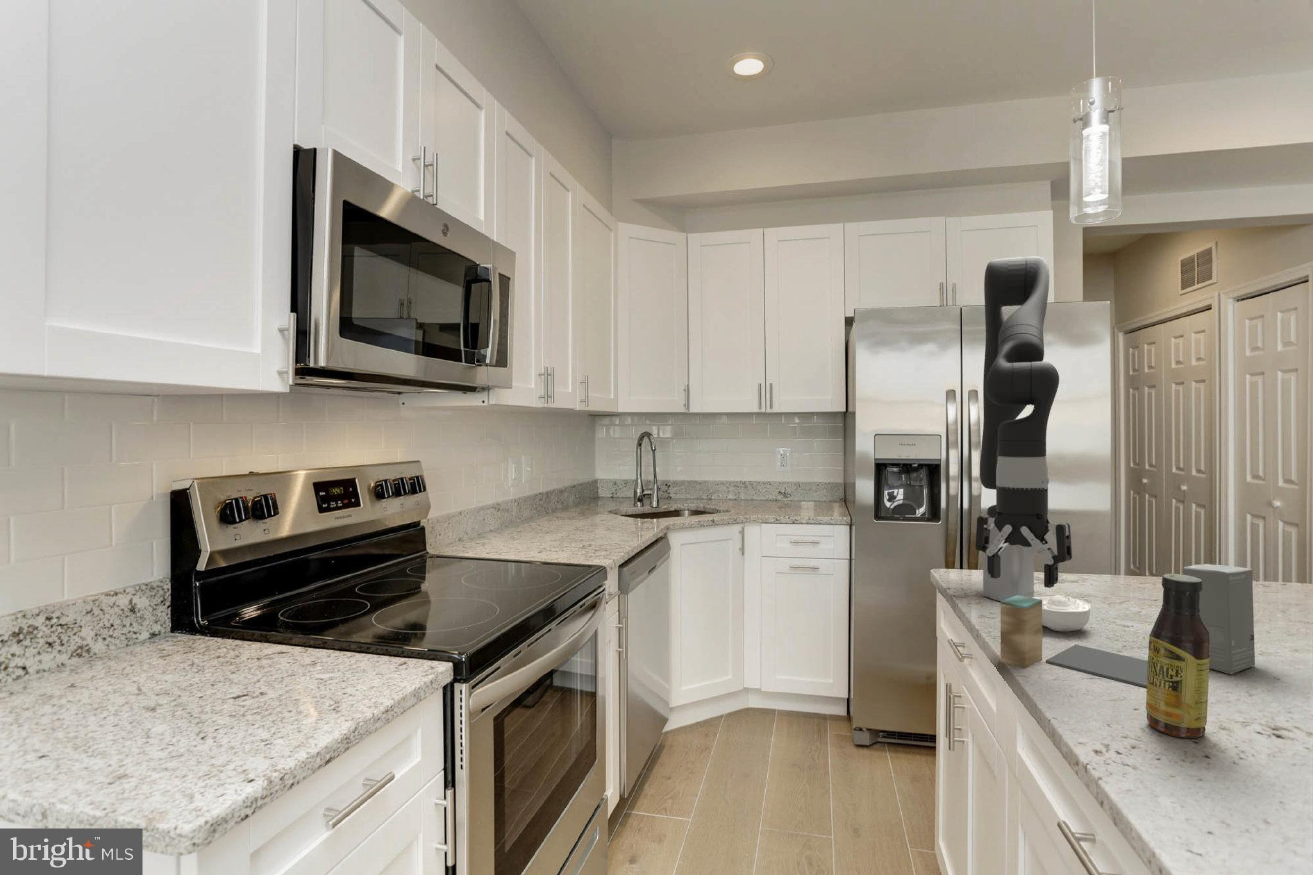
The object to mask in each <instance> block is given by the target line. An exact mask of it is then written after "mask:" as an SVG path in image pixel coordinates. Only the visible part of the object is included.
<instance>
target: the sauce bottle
mask: <svg viewBox="0 0 1313 875" xmlns="http://www.w3.org/2000/svg"><path fill="white" fill-rule="evenodd" d="M1161 579H1162V580H1161V587H1162V589H1163V592H1162V604H1161V608H1160V611H1159V612H1158V615H1157V617H1156V619H1155V621H1154V624H1153V626H1152V628H1151V631H1150V633H1149V636H1148V637H1149V638H1148V652H1147V653H1148V654H1147V655H1148V656H1147V661H1148V670H1147V671H1148V672H1147V688H1146V702H1145V710H1146V720H1147V722H1148V724H1149V725H1150V726H1151V728H1154V729H1155V730H1157V731H1159V732H1161V733H1164V734H1167V735H1169V736H1172V737H1175V738H1186V739H1188V738H1189V739H1195V738H1196V739H1197V738H1201V737H1202V736H1204V735H1205V733H1206V726H1207V722H1208V704H1209V702H1208V701H1209V700H1208V699H1209V680H1210V679H1209V678H1210V668H1209V663H1210V656H1209V643H1210V637H1209V632H1208V630H1207V628H1206V627H1205V625H1204V624H1203V622H1202V620H1201V617H1200V614H1199V612H1200V609H1199V598H1200V592H1201V590H1202V580H1201V579H1199V578H1196V577H1193V576H1188V575H1183V574H1180V573H1179V574H1178V573H1165V574H1163V575H1162V578H1161Z"/></svg>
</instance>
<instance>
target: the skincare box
mask: <svg viewBox="0 0 1313 875" xmlns="http://www.w3.org/2000/svg"><path fill="white" fill-rule="evenodd" d="M1182 570H1183V571H1182V573H1183V574H1182V575H1188V576H1193V577H1196V578H1199V579H1201V580H1202V590H1201V592H1200V598H1199V609H1200V612H1199V614H1200V617H1201V620H1202V622H1203V624H1204V625H1205V627H1206V628H1207V630H1208V632H1209V637H1210V643H1209V656H1210V663H1209V669H1210V670H1215V671H1217V672H1222V673H1224V674H1228V675H1234V674H1235V673H1239V672H1240V671H1244V670H1246V669H1249V668H1252V667H1254V666H1256V651H1255V649H1256V648H1255V625H1254V624H1255V623H1254V622H1255V621H1254V615H1255V614H1254V590H1253V589H1254V587H1253V586H1254V585H1253V568H1248V567H1240V566H1232V565H1231V566H1230V565H1222V564H1215V563H1214V564H1213V563H1204V564H1193V565H1188V566H1184V567H1183V568H1182Z"/></svg>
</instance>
